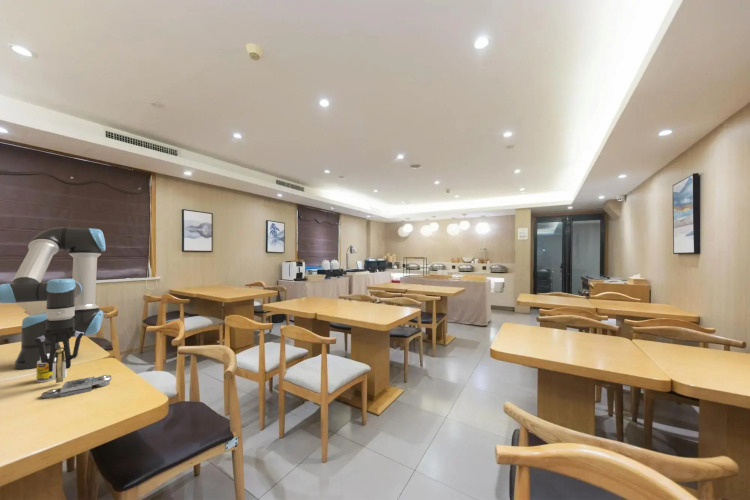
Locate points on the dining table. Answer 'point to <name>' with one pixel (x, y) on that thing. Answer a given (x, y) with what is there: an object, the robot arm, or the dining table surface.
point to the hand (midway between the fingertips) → (59, 377)
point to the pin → (59, 364)
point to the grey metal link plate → (77, 386)
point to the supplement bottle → (43, 371)
